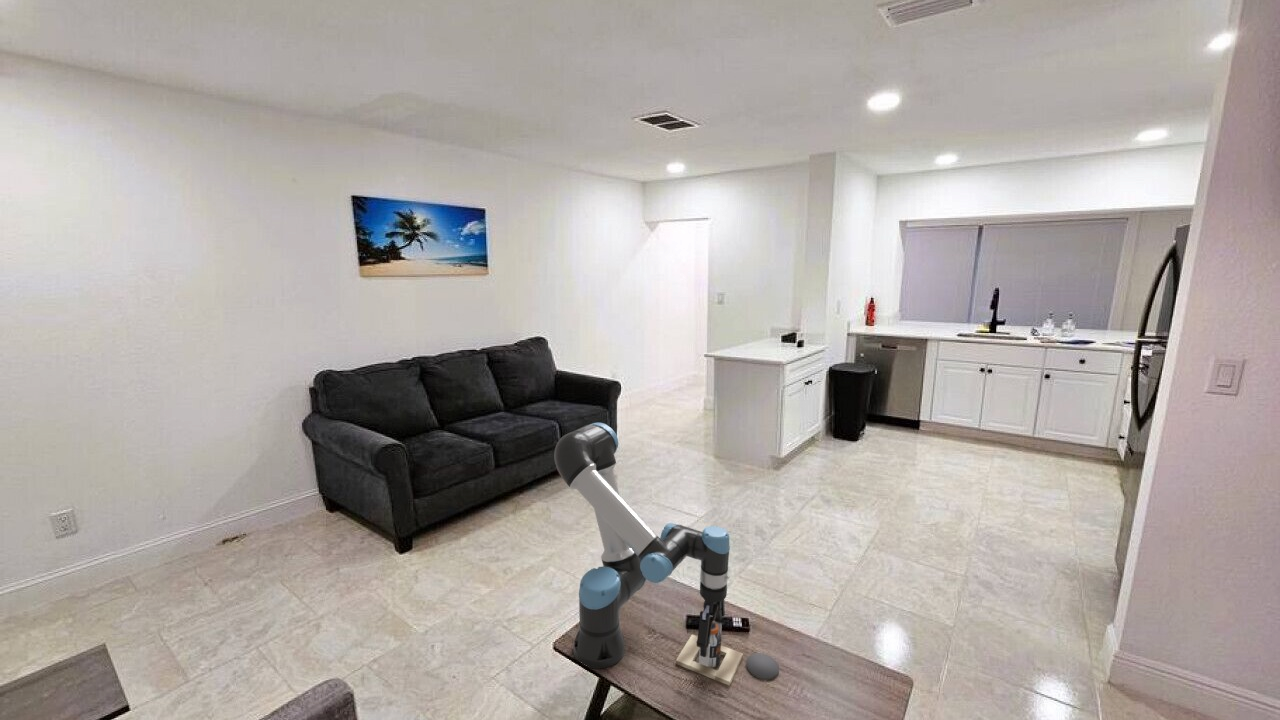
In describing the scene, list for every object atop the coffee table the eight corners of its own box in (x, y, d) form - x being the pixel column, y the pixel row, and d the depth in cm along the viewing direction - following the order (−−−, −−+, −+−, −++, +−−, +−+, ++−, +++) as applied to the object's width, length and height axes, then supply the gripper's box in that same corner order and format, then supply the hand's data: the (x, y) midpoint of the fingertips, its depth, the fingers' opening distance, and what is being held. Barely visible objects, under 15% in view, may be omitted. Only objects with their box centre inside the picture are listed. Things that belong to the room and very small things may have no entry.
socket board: (675, 663, 148) (675, 660, 148) (691, 637, 158) (692, 634, 158) (729, 685, 141) (729, 682, 140) (742, 657, 151) (743, 653, 151)
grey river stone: (742, 671, 146) (742, 669, 145) (751, 651, 153) (751, 648, 153) (774, 684, 141) (774, 681, 141) (781, 662, 149) (782, 660, 149)
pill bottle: (719, 670, 146) (721, 634, 144) (698, 666, 147) (700, 631, 145) (720, 654, 152) (722, 620, 150) (700, 651, 153) (701, 617, 151)
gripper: (712, 608, 134) (708, 684, 138) (738, 566, 153) (734, 634, 157) (686, 599, 137) (682, 673, 141) (714, 559, 156) (710, 625, 160)
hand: (710, 652), depth 149 cm, fingers open, 9 cm apart
